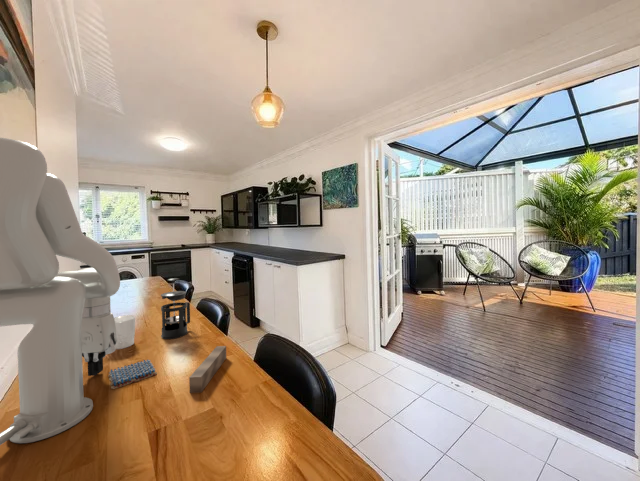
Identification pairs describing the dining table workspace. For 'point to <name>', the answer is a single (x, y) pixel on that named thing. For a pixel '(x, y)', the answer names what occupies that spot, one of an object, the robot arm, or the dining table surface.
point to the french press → (174, 324)
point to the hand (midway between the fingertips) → (95, 373)
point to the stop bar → (207, 369)
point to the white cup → (124, 331)
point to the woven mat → (131, 373)
